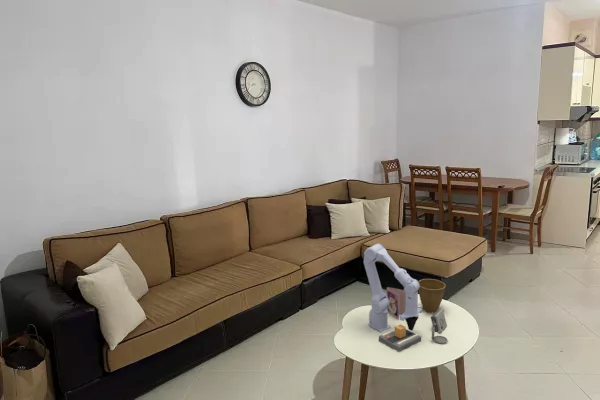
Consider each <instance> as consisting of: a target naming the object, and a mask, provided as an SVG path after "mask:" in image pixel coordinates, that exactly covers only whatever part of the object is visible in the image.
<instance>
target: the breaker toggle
mask: <svg viewBox="0 0 600 400" xmlns="http://www.w3.org/2000/svg"><path fill="white" fill-rule="evenodd" d="M394 329H395V336H396V337H398V338H403V337H405V336H406V329H407V327H406V326H404V324H401V323H399V324H397V325H395V326H394Z"/></svg>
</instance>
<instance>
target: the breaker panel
mask: <svg viewBox="0 0 600 400" xmlns="http://www.w3.org/2000/svg"><path fill="white" fill-rule="evenodd" d="M378 342H380V343H382V344H384V345H386V346H387V347H389V348H391V349H393V350H395V351H396V352H398V353H400V352H402V351H404V350H406V349H409V348H410V347H413V346H414V345H417V344H418V343H421V342H422V336H421V335H419V334H417V333H414V332H413V331H411V330H409V329H407V328H406V336H405V337H403V338H398V337H396V336H395V328H394V329H392V330H389V331H388V332H385V333H383V334H381V335H379V336H378Z"/></svg>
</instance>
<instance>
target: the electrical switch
mask: <svg viewBox="0 0 600 400" xmlns="http://www.w3.org/2000/svg"><path fill="white" fill-rule="evenodd" d="M444 312H445V311H444V309H440V310H437V311H436V312H435V313H432V315H430V321H431V324H432V325H433V321H434V326H435V332H438V334H442V333H443V331H444V330H445V329H446V328H447V327H448V324H447V323H448V322H447V320H446V315H445V313H444ZM432 325H431V326H432Z"/></svg>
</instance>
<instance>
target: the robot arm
mask: <svg viewBox="0 0 600 400" xmlns="http://www.w3.org/2000/svg"><path fill="white" fill-rule="evenodd" d="M363 255H364V256H363V265H364V269H365V272H366V273H365V274H366V276H367V279H368V283H369V287H370V290H371V293H372V295H371V300H370V301H371V309H370V310H369V312H368V313H369V314H368V317H369V318H368V323H367V325H368V326H369V327H371V328H373V329H375V330H377V331H379V332H383V331H387V330H388V329H390V328H392V326H391V325H390V324H389V323H388V317H389V316H388V314H389V313H388V307H389V305H390V301H389V299H388V298H387V293H386V292H384V291H383V288H382V284H381V281H380V277H379V274H378V270H377V267H376V262H383V263H384V264H385V265H386V266H387V267H388V268H389V269H390V270H391V271H392V272H393V273H394V277H395V279H396V280H398V282H399V283H400V284H401V285H402V286H403V290H405V292H406V308H405V312H404V313H403V314H402V315H399V320H400V321H402V322H403V321H405V322H406V325H407V328H408V329H407V330H409V331H411V332H413V330H414V329H415V325H416V323H417V321H418V319H419V316H420V315H419V314H422V313H423V308H421V307H418V304H419V302H418V301H419V300H418V299H419V297H418V296H419V290H418V289H419V288H420V284H419V282H418V281H419V280H417V279H415V278H413V277H411V276H410V274H409V273H407V270H406V269H405V268H401V267H399V266H398V265H397V264H396V262H395V261H394V260H393V258H392V257H391V256H390V255H389V253H388V251H387V248H385V247H384V246H383V245H382V244H381V243H375V244H373V245H371V246H370V247H368V248H366V249H365V251H363Z"/></svg>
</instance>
